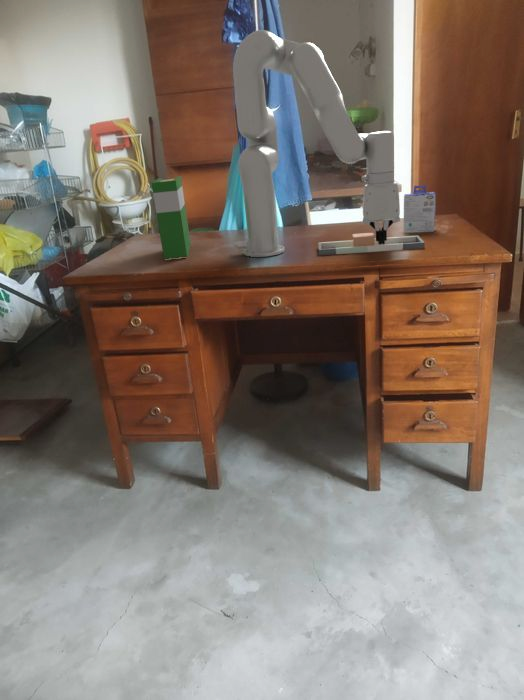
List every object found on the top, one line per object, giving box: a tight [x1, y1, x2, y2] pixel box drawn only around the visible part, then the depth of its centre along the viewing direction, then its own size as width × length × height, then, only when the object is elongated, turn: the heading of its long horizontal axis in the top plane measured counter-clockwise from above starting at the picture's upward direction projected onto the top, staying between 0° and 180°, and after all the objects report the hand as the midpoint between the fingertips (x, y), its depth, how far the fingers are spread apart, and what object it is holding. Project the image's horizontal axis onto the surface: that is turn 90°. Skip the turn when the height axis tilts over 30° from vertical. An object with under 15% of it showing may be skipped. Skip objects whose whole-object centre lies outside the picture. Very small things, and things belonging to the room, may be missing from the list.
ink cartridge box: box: [403, 184, 437, 234], centre depth 168 cm, size 10×6×14 cm, turn 76°
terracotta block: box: [352, 232, 376, 247], centre depth 153 cm, size 6×5×4 cm
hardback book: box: [150, 175, 192, 260], centre depth 169 cm, size 18×7×24 cm, turn 3°
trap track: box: [318, 235, 426, 256], centre depth 153 cm, size 30×10×2 cm, turn 84°
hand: (381, 243), depth 153 cm, fingers closed
